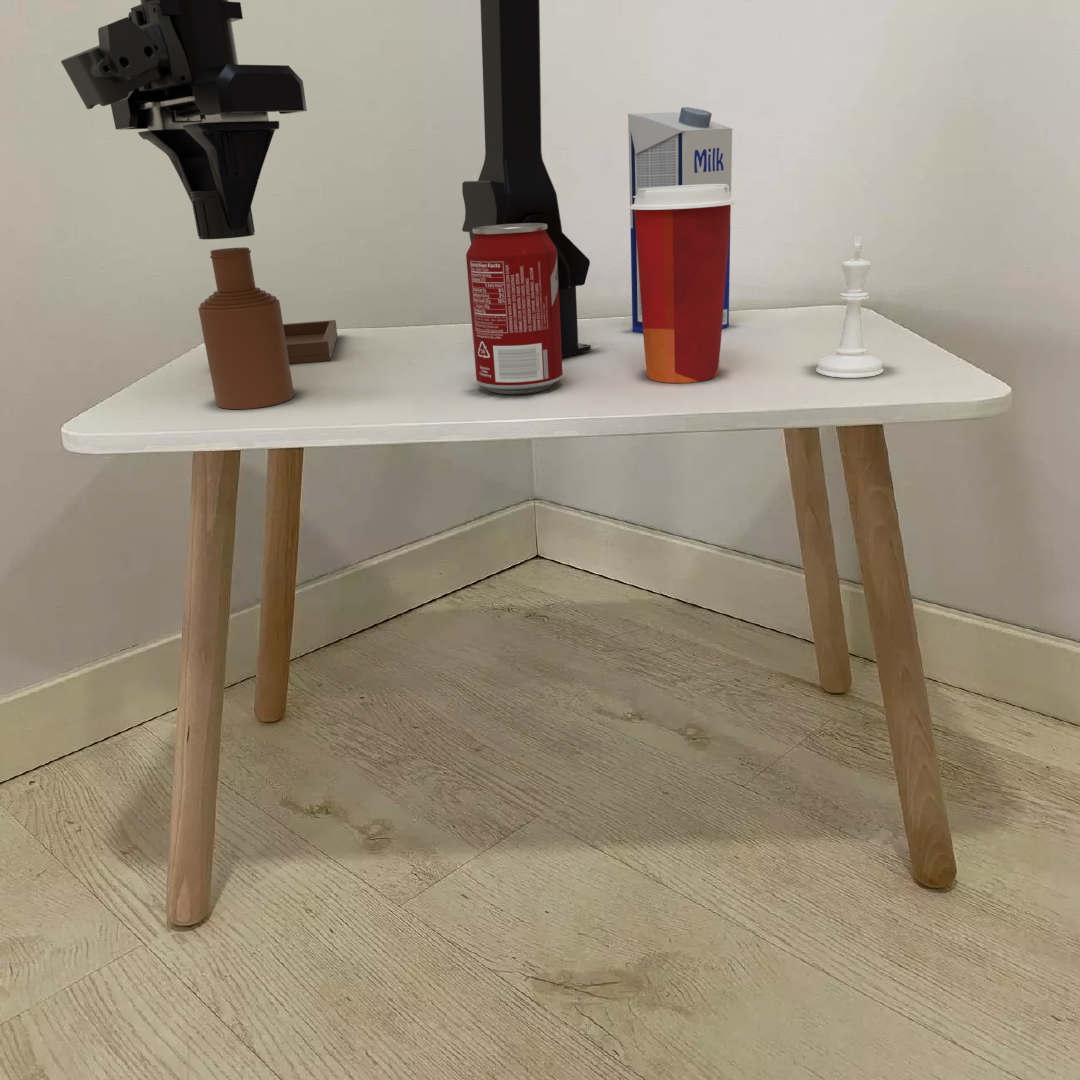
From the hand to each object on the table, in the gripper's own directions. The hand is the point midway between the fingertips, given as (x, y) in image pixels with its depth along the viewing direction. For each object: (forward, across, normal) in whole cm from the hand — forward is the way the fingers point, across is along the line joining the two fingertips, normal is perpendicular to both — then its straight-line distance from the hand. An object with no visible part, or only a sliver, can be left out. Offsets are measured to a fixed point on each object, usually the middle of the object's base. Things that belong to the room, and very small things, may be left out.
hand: (224, 228), depth 70 cm
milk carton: (+13, +10, +41) cm, 44 cm away
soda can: (+13, +15, +15) cm, 25 cm away
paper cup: (+13, +23, +25) cm, 36 cm away
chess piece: (+13, +33, +33) cm, 48 cm away
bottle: (+13, 0, 0) cm, 13 cm away
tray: (+13, -17, +12) cm, 25 cm away
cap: (+1, 0, 0) cm, 1 cm away
